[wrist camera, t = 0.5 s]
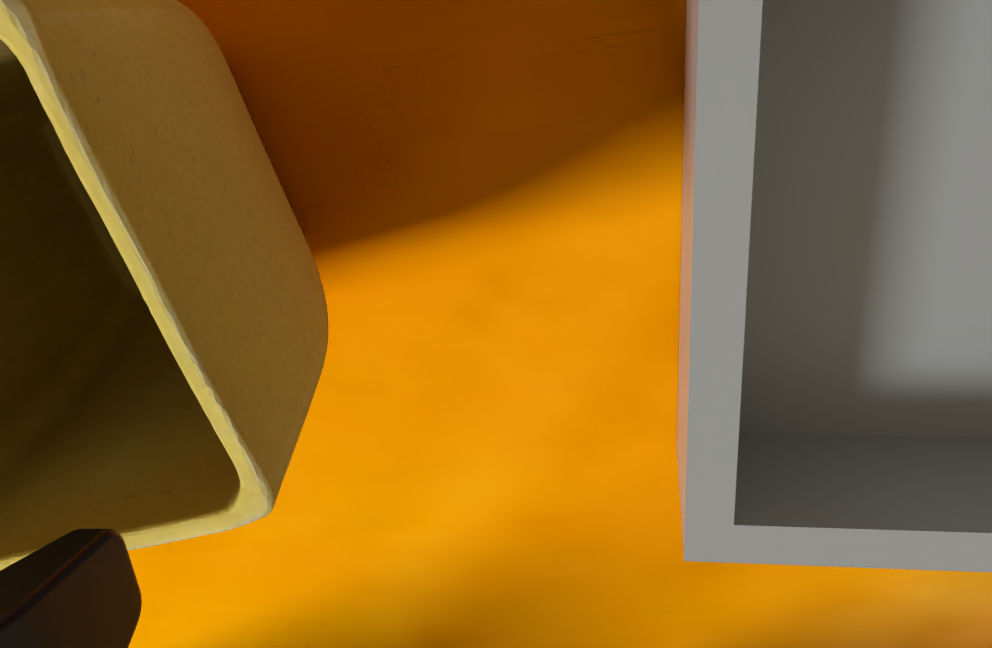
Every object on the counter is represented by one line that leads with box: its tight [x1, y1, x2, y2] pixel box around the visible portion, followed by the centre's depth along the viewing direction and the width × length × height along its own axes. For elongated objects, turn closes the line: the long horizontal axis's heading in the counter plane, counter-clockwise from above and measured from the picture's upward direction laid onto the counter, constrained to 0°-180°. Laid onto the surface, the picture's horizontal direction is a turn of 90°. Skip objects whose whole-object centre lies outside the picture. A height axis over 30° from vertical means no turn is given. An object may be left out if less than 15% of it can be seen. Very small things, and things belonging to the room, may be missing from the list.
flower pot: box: [0, 0, 328, 570], centre depth 19 cm, size 9×9×9 cm
